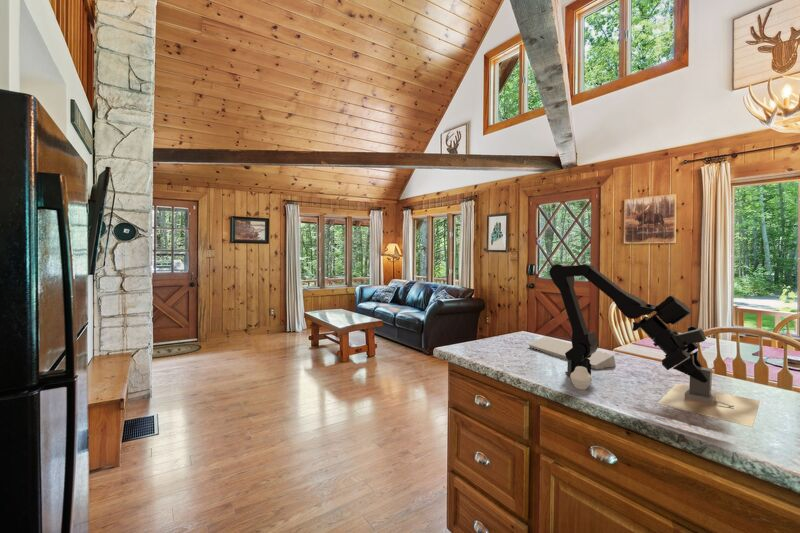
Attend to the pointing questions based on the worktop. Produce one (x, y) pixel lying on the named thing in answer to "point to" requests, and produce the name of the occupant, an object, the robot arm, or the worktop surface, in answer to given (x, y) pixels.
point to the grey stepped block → (701, 389)
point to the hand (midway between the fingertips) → (707, 380)
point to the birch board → (715, 406)
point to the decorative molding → (561, 347)
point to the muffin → (581, 378)
